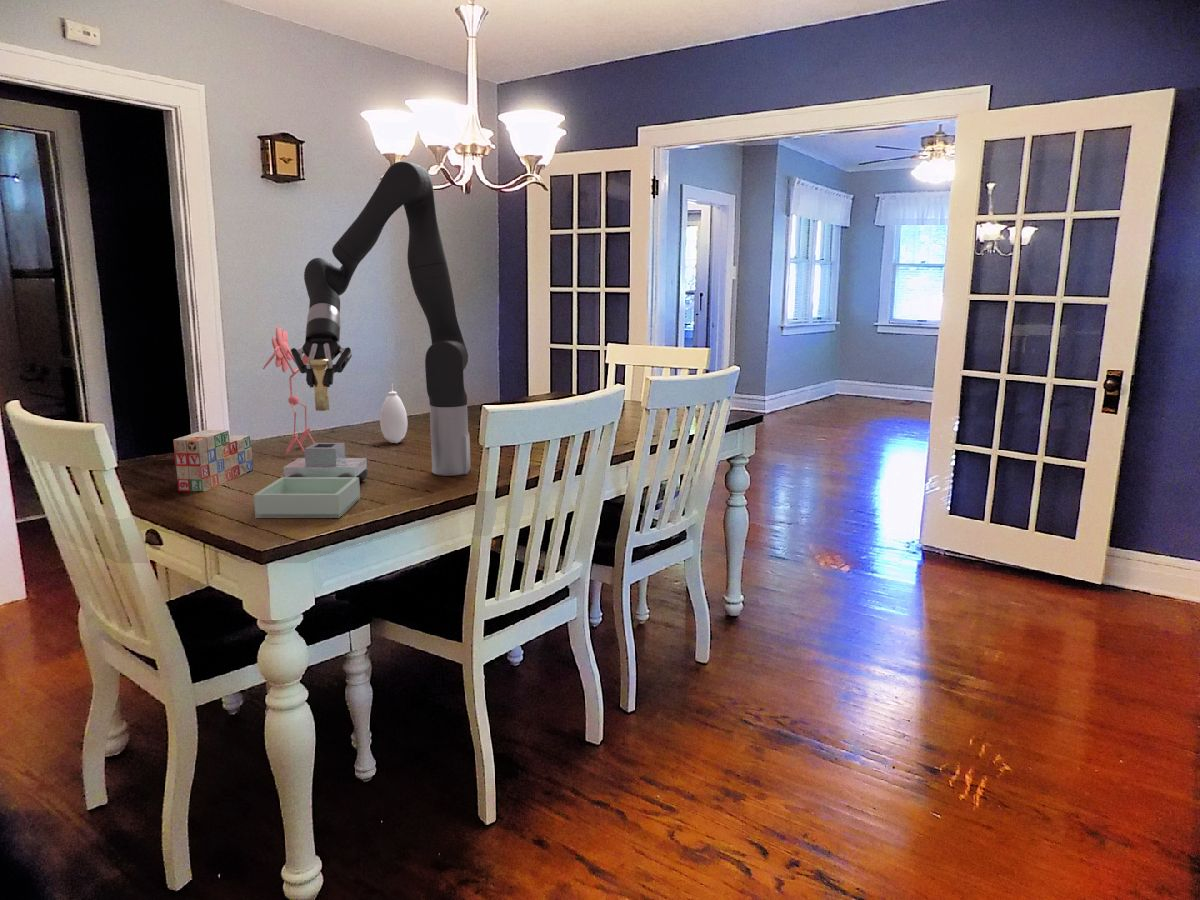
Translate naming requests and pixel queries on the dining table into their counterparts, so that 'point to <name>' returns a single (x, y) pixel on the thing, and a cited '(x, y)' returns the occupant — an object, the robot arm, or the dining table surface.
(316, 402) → the pin
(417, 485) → the dining table surface
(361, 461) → the trolley
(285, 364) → the figurine
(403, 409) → the sauce bottle
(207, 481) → the stack of blocks
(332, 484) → the tray
